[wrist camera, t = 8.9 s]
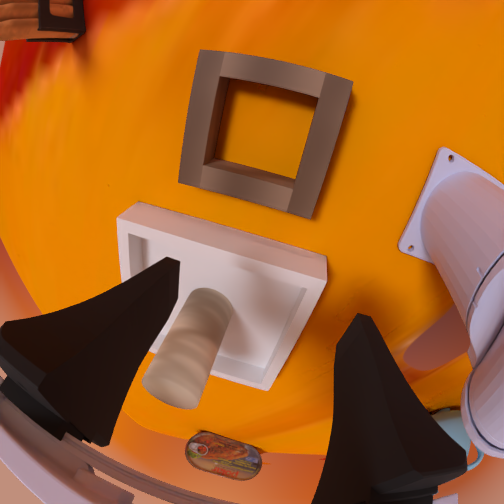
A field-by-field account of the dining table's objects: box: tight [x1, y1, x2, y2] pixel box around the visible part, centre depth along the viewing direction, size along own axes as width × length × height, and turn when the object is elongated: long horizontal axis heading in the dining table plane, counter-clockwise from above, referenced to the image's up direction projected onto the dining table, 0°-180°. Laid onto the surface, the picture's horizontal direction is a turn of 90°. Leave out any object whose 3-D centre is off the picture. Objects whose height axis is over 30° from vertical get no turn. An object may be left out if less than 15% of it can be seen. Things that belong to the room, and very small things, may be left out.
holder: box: [178, 50, 353, 219], centre depth 15 cm, size 8×8×2 cm
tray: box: [117, 202, 327, 391], centre depth 23 cm, size 15×15×3 cm
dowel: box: [142, 288, 233, 409], centre depth 19 cm, size 4×4×9 cm
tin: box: [185, 432, 262, 481], centre depth 41 cm, size 15×3×8 cm, turn 68°
